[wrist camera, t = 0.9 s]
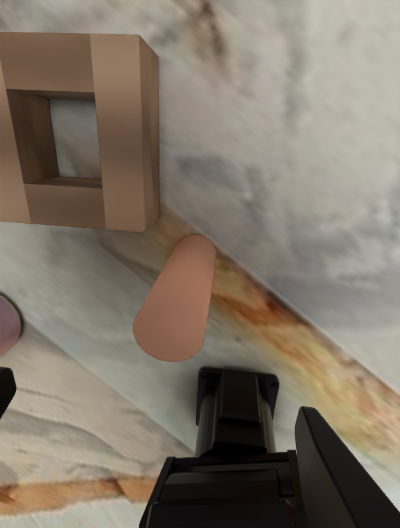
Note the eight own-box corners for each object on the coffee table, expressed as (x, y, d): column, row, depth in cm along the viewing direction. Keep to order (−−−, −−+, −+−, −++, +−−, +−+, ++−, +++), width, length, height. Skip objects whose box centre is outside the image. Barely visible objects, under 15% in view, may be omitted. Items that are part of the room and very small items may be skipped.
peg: (215, 276, 21) (202, 365, 12) (173, 272, 21) (134, 357, 13) (218, 236, 19) (206, 305, 11) (174, 232, 20) (131, 297, 11)
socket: (159, 217, 19) (145, 232, 16) (32, 208, 20) (-6, 220, 17) (158, 56, 16) (139, 34, 13) (4, 52, 17) (-51, 31, 13)
